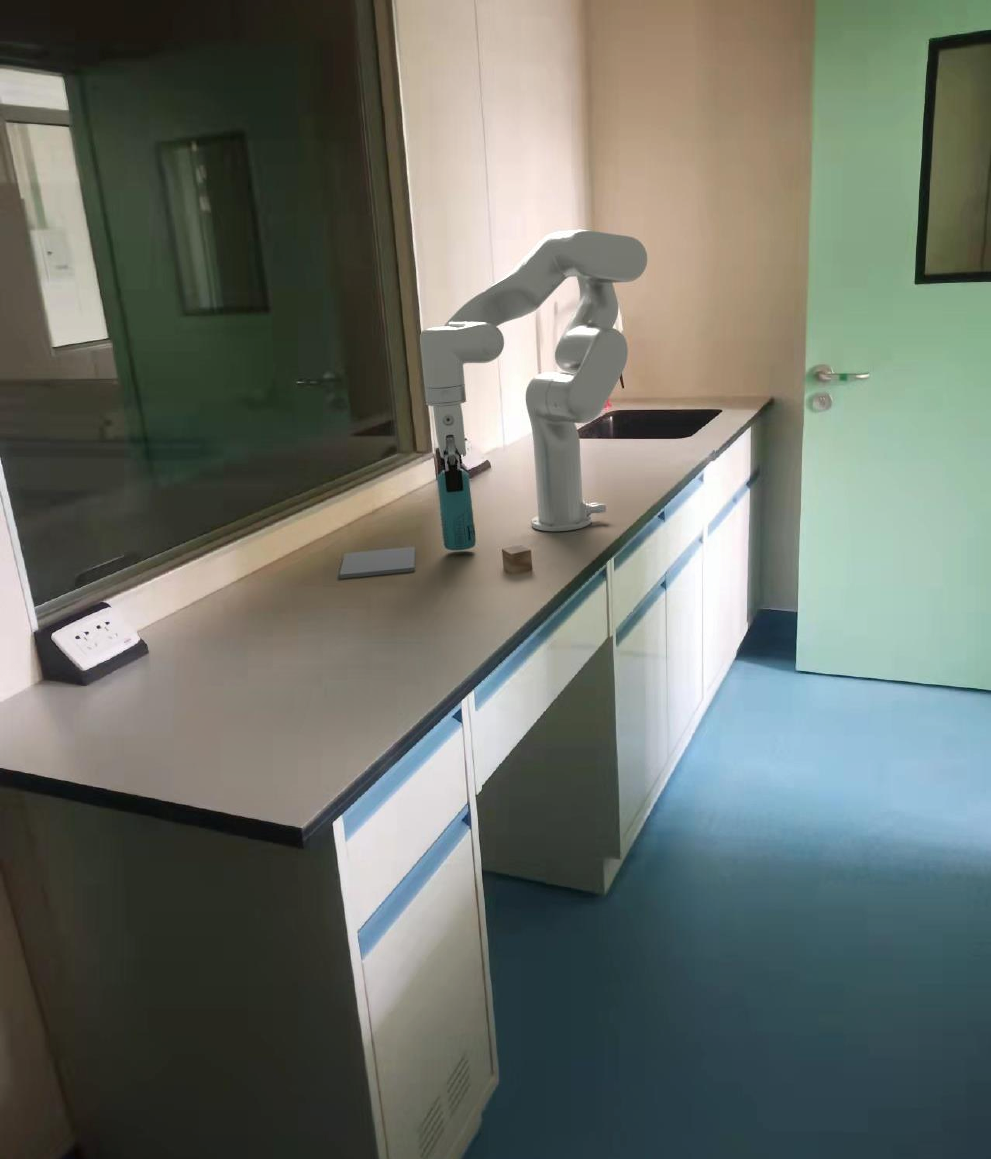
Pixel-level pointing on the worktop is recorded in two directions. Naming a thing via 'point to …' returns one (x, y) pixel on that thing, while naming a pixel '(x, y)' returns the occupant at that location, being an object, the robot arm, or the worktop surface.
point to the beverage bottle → (456, 513)
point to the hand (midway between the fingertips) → (454, 485)
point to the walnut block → (517, 559)
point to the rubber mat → (378, 562)
